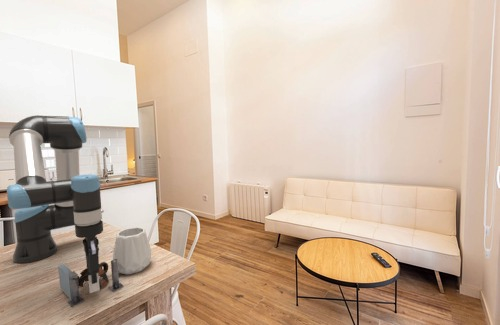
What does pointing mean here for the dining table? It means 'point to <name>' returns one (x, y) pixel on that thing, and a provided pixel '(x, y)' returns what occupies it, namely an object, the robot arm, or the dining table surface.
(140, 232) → the vase
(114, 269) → the post
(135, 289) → the dining table surface
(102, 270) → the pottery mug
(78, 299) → the hinge post
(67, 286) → the gate
